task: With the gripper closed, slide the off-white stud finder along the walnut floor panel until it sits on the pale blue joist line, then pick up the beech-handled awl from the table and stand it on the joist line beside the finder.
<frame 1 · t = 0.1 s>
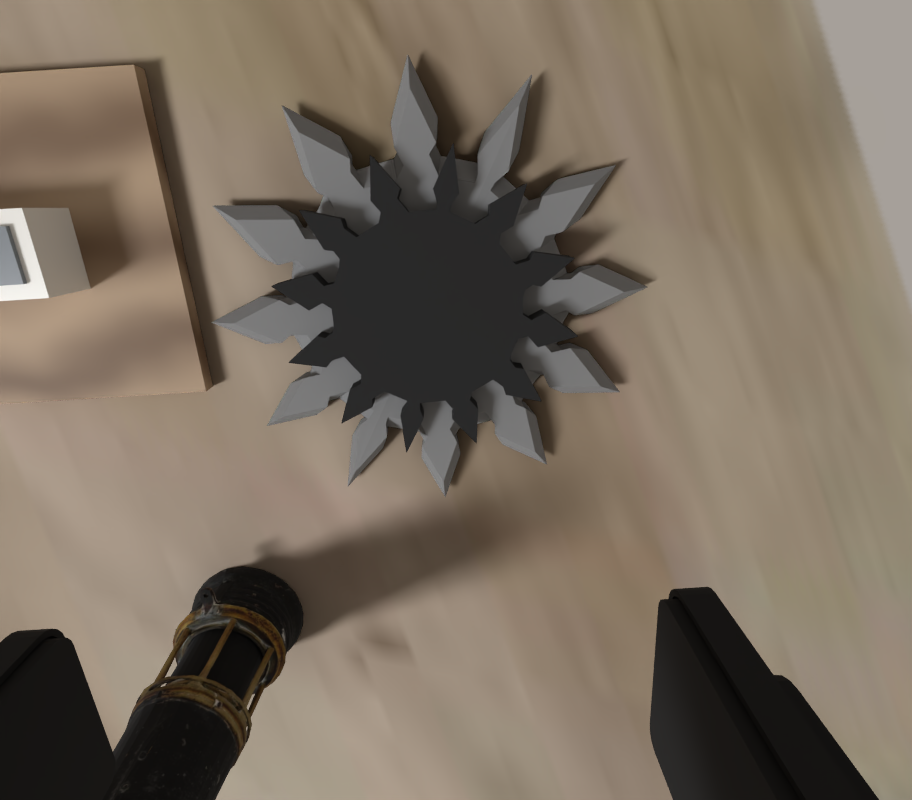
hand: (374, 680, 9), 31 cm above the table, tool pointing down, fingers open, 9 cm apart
stud finder: (17, 253, 35), point 1 cm above the table, touching floor panel
decorative piece: (429, 301, 38), on the table
lantern: (250, 611, 46), on the table
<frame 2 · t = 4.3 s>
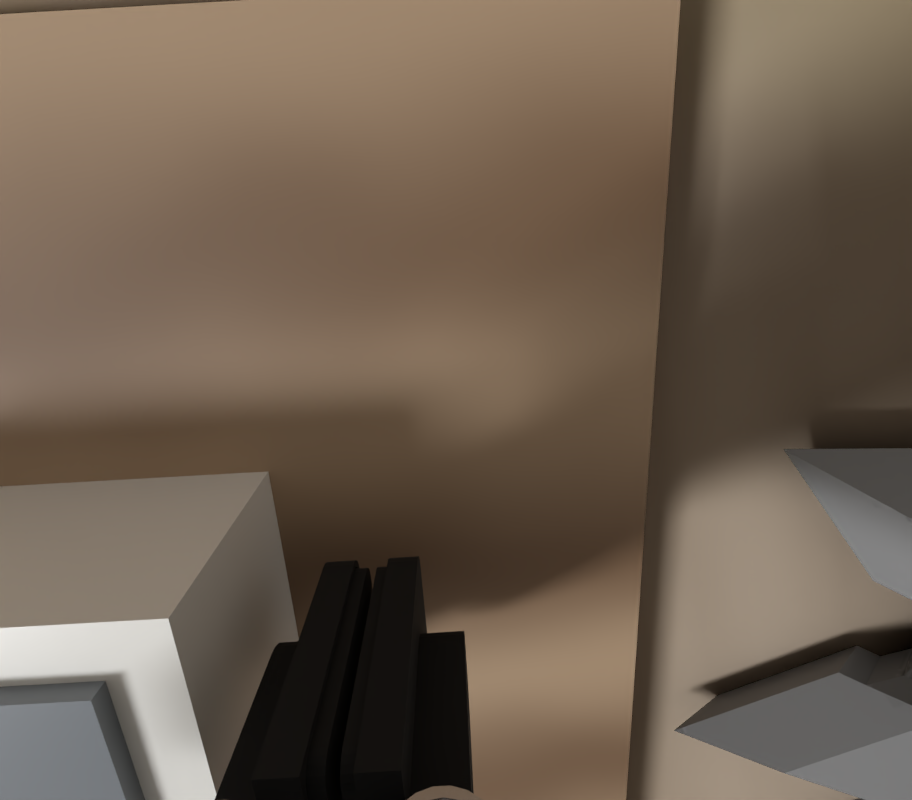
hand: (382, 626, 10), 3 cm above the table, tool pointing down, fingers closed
stud finder: (93, 592, 11), point 1 cm above the table, touching floor panel, gripper
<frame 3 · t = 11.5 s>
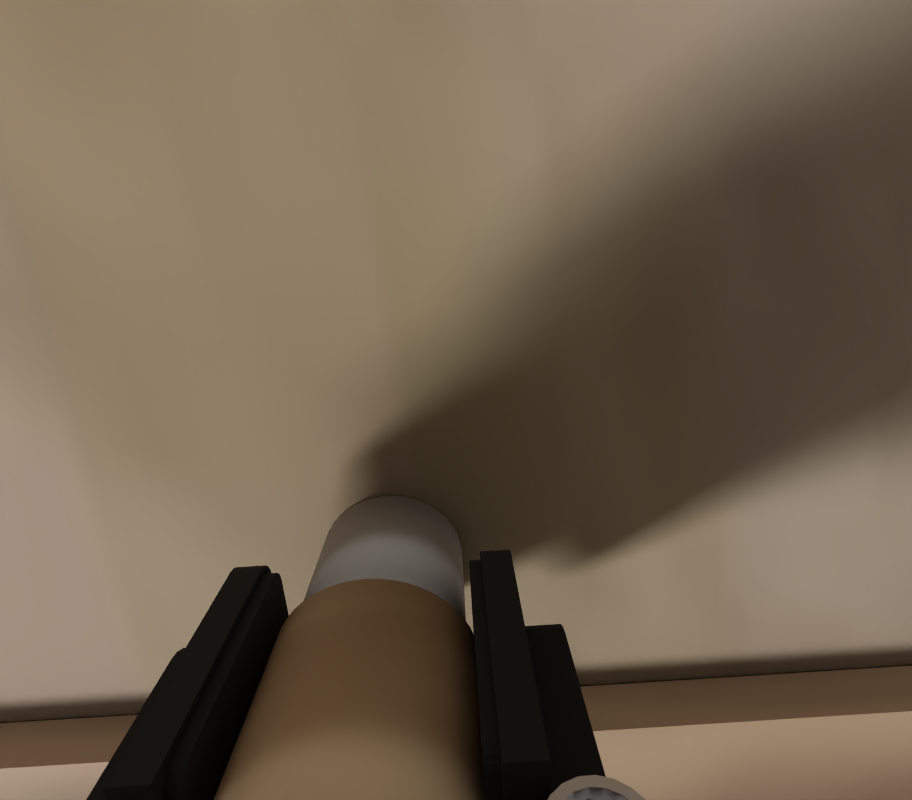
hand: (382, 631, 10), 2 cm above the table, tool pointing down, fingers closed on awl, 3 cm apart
awl: (393, 556, 12), on the table, touching gripper
when the fingers open (5 cm above the table, at t = 15.8 s): awl drops 1 cm, resting on floor panel.
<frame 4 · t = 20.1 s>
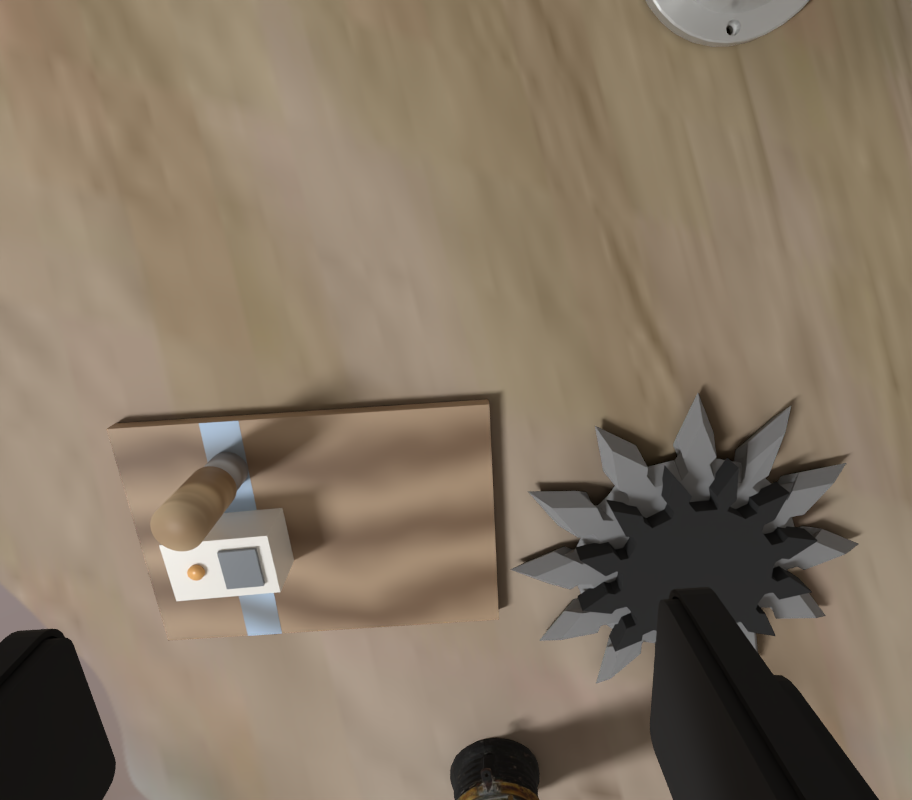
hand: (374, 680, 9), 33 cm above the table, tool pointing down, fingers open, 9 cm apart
awl: (228, 469, 43), point 1 cm above the table, touching floor panel
stud finder: (239, 538, 45), point 1 cm above the table, touching floor panel
decorative piece: (677, 547, 48), on the table
floor panel: (320, 523, 46), on the table
lantern: (494, 769, 56), on the table
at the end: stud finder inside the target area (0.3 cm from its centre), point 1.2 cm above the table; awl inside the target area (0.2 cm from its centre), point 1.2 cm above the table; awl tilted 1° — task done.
